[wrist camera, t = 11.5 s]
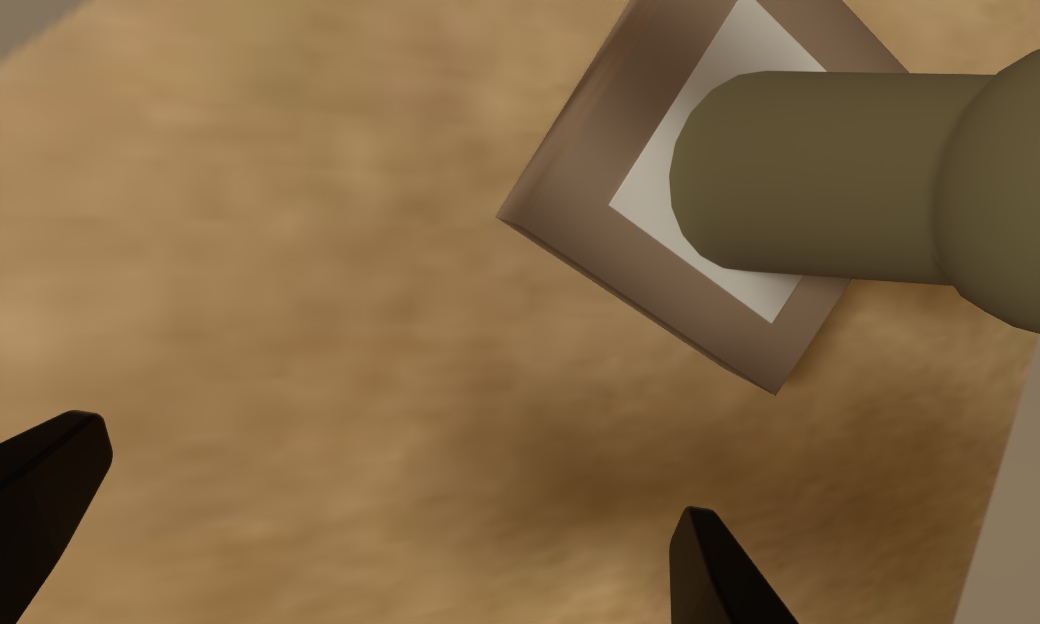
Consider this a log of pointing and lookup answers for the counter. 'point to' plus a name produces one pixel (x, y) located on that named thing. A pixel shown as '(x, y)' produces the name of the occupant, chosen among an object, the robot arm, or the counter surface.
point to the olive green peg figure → (871, 180)
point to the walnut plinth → (646, 165)
